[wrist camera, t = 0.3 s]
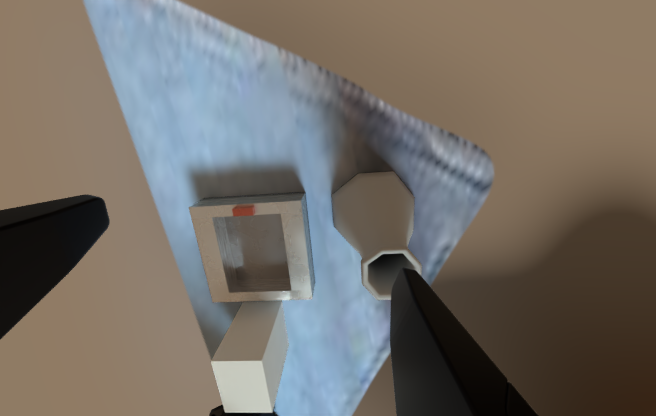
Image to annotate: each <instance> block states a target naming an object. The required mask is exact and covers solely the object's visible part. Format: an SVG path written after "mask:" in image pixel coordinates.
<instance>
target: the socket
mask: <svg viewBox="0 0 656 416" xmlns="http://www.w3.org/2000/svg"><path fill="white" fill-rule="evenodd" d="M189 210H190V214H191V218H192V222H193V226H194V230H195V234H196V238H197V242H198V246H199V250H200V254H201V258H202V262H203V266H204V270H205V274H206V277H207V281H208V285H209V289H210V293H211V297H212V301H213V302H242V301H275V300H308V299H312V298H313V292H314V287H315V276H314V267H313V258H312V249H311V240H310V231H309V221H308V212H307V203H306V194H305V192H298V193H282V194H266V195H250V196H234V197H217V198H204V199H202V200H200V201H199V202H197V203H195V204H194V205H192V206H190V207H189Z"/></svg>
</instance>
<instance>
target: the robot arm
mask: <svg viewBox="0 0 656 416" xmlns="http://www.w3.org/2000/svg"><path fill="white" fill-rule="evenodd" d="M108 225H109V216H108V213H107V209H106V205H105V202H104V200H103V199H102V198H100V197H96V196H92V195H80V196H75V197H69V198H64V199H59V200H53V201H48V202H42V203H37V204H32V205H26V206H21V207H16V208H10V209H5V210H0V339H1V338H2V337H3V336H4V335H5V334H6V333H8V332H9V331H10V330H11V329H12V327H14V326H15V325H16V324H17V323H18V322H19V321H20V320H21V319H22V318H23V317H24V316H25V315H26V314H27V313H28V312H29V311H30V310H31V309H32V308H33V307H34V306H35V305H36V304H37V303H38V302H39V301H40V300H41V299H42V298H44V296H46V294H48V293H49V292H50V291H51V290H52V289H53V288H54V287H55V286H56V285H57V284H58V283H59V282H60V281H61V280H62V279H63V278H64V277H65V276H66V275H67V274H68V273H69V272H70V271H71V270H72V269H73V268H74V267H75V266H76V264H77V263H78V262H79V261H80V260H81V259H82V257H83V256H84V255H85V254H86V253H87V252H88V250H89V249H90V248H91V247H92V246H93V245H94V243H95V242H96V241H97V240H98V239H99V238H100V236H101V235H102V234H103V233H104V232H105V231H106V229H107V228H108ZM390 347H391V359H392V370H393V380H394V392H395V402H396V413H397V416H539V415H538V414H537V413H536V412H535V410H534V409H533V408H532V407H531V406H530V405H529V404H528V403H527V401H526V400H525V399H524V398H523V397H522V395H521V394H520V393H519V392H518V391H517V389H516V388H515V387H514V386H513V385H512V383H510V382H508V380H507V378H506V377H505V375H504V374H503V373H502V372H501V371H500V369H499V368H498V367H497V366H496V365H495V363H494V362H493V361H492V360H491V359H490V358H489V356H488V355H487V354H486V353H485V352H484V350H483V349H482V348H481V347H480V346H479V344H478V343H477V342H476V341H475V340H474V339H473V337H472V336H471V335H470V334H469V333H468V331H467V330H466V329H465V328H464V327H463V325H462V324H461V323H460V322H459V321H458V319H457V318H456V317H455V316H454V315H453V313H451V311H450V310H449V309H448V308H447V306H446V305H445V304H444V303H443V302H442V300H441V299H440V298H439V297H438V296H437V294H436V293H435V292H434V291H433V290H432V288H431V287H430V286H429V285H428V284H427V283H426V281H425V280H424V279H423V278H422V277H421V275H420V274H419V273H418V272H417V271H416V270H414V269H410V268H405V267H403V268H401V269H400V271H399V273H398V275H397V277H396V280H395V282H394V284H393V286H392V290H391V320H390ZM209 416H275V415H274V414H273V413H225V411H224V407H223V405H221V406H218V407H216V408H214V409H212V410H211V412H210V415H209Z"/></svg>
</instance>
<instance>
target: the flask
mask: <svg viewBox="0 0 656 416" xmlns="http://www.w3.org/2000/svg"><path fill="white" fill-rule="evenodd" d="M414 199H415V197H414V196H413V195H412V194H411V192H410V191H409V190H408V189H407V187H406V186H405V185H404V184H403V182H402V181H401V180H400V179H399V177H398V176H397V175H396V174H395V172H394V171H391V172H374V173H358V174H357V175H356V176H354V177H353V178H352V179H351V180H350V181H348V182H347V183H346V184H345V185H343V186H342V187H341V188H340V189H339V190H337V191H336V192H335V193H334V194H332V207H333V221H334V227H335V228H336V229H337V230H338V232H339V233H340V234H341V235H342V236H343V237H344V238H345V239H346V240H347V241H348V243H349V244H350V245H351V246H352V247H353V248H354V249H355V250H356V251H357V252H358V253H360V255H361V257H362V260H361V275H362V285H363V286H364V287H365V288H366V289H367V290H368V291H369V292H370V293H371V294H372V295H373V296H374V297H375V298H376V300H391V290H392V286H393V284H394V282H395V280H396V277H397V275H398V273H399V271H400V269H401V268H403V267H405V268H410V269H414V270H416V271H417V272H418V273H419V274H420V275H421V268H422V265H421V263H420V262H419V261H418V260H417V258H416V257H415V256H414V255H413V254H412V253H411V251H410V250H409V249H408V243H409V240H410V237H411V235H412V233H413V230H414Z"/></svg>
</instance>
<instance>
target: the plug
mask: <svg viewBox="0 0 656 416" xmlns="http://www.w3.org/2000/svg"><path fill="white" fill-rule="evenodd" d="M288 346H289V342H288V336H287V329H286V323H285V317H284V310H283V304H282V301H264V302H243V303H242V305H241V307H240V308H239V310H238V312H237V314H236V316H235V318H234V319H233V321H232V323H231V325H230V327H229V329H228V330H227V332H226V334H225V336H224V338H223V340H222V341H221V343H220V345H219V347H218V349H217V351H216V352H215V354H214V356H213V358H212V360H211V365H212V368H213V372H214V375H215V379H216V382H217V386H218V389H219V393H220V396H221V400H222V403H223V407H224V411H225V413H272V412H273V408H274V404H275V400H276V396H277V392H278V388H279V383H280V379H281V375H282V371H283V367H284V363H285V359H286V355H287V350H288Z"/></svg>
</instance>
